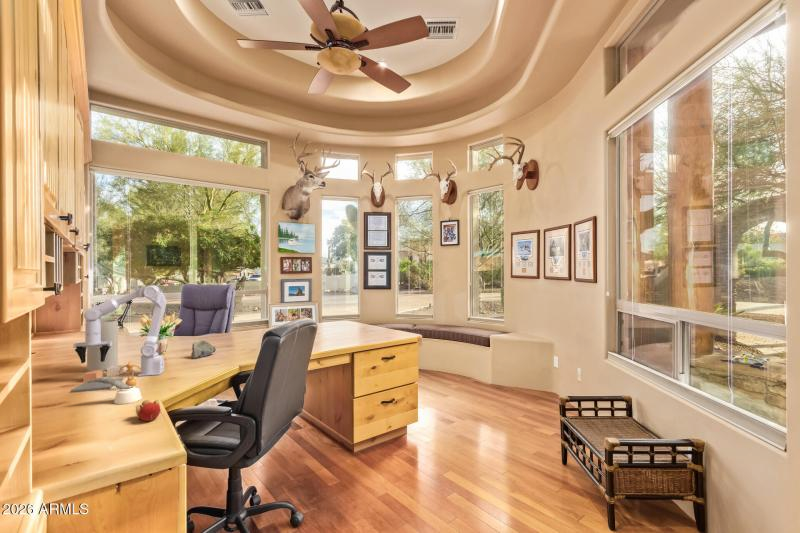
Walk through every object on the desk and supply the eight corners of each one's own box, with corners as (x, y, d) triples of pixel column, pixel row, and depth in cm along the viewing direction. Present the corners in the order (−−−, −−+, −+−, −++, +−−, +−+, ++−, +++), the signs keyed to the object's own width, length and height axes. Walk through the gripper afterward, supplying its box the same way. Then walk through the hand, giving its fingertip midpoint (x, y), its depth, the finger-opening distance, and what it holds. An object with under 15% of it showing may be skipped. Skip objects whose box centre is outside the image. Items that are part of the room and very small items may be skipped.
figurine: (143, 385, 168) (143, 358, 168) (140, 388, 162) (140, 361, 162) (120, 387, 164) (120, 360, 164) (117, 391, 159) (117, 363, 159)
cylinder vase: (123, 366, 200) (123, 320, 200) (99, 372, 188) (100, 323, 188) (105, 365, 203) (105, 319, 203) (80, 371, 191) (80, 322, 191)
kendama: (130, 414, 137) (134, 423, 123) (134, 396, 138) (138, 403, 124) (155, 413, 141) (161, 421, 127) (159, 396, 143) (165, 402, 129)
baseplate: (123, 380, 175) (123, 378, 175) (109, 389, 162) (109, 386, 162) (87, 382, 171) (87, 380, 171) (70, 392, 158) (70, 390, 158)
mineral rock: (216, 353, 230) (216, 337, 230) (215, 357, 221) (215, 340, 221) (192, 355, 225) (192, 339, 225) (190, 359, 215) (190, 342, 215)
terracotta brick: (102, 378, 179) (102, 369, 179) (96, 381, 174) (96, 373, 174) (90, 379, 178) (90, 370, 178) (83, 382, 172) (83, 374, 172)
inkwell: (138, 402, 145) (138, 377, 145) (81, 409, 138) (81, 382, 139) (144, 395, 154) (145, 371, 154) (91, 401, 147) (91, 375, 147)
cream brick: (123, 372, 189) (123, 364, 189) (118, 375, 183) (118, 367, 183) (112, 373, 187) (112, 365, 187) (106, 376, 182) (106, 368, 182)
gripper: (114, 331, 182) (114, 359, 182) (79, 332, 178) (79, 361, 178) (108, 333, 175) (108, 362, 175) (70, 335, 171) (70, 364, 171)
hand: (93, 362), depth 176 cm, fingers open, 7 cm apart
